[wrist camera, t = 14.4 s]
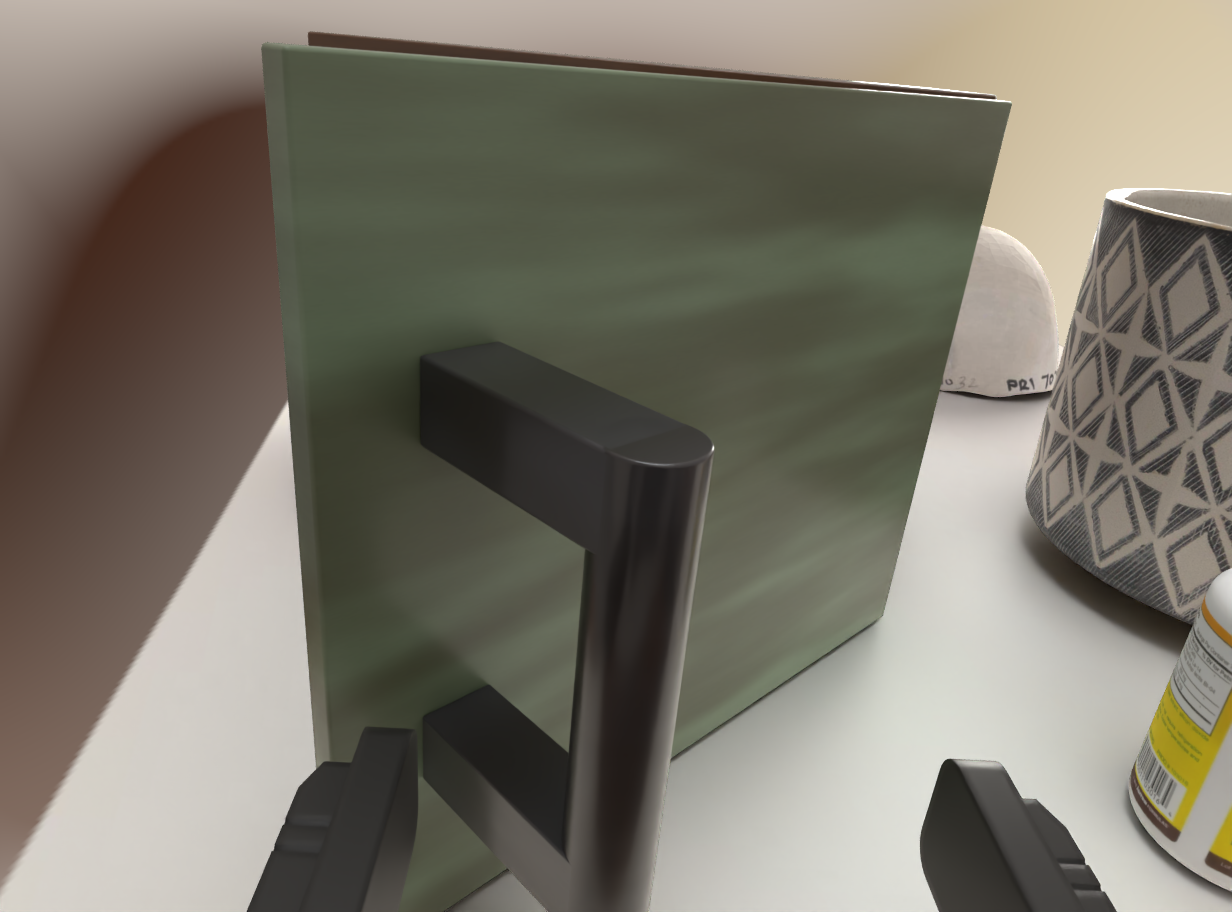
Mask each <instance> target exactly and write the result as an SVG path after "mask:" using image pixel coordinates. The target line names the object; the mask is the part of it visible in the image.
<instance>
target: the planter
mask: <svg viewBox="0 0 1232 912" xmlns="http://www.w3.org/2000/svg"><path fill="white" fill-rule="evenodd" d="M1026 501H1027V505H1028V508H1029V511H1030V514H1031V516H1032V517H1033V519H1034V521H1035V523H1036V524H1037V525H1038V527H1039V528H1040V530H1041V531H1042V532H1043V533H1044V535H1045V536H1046V537H1047V538H1048V539H1049V540H1050V541H1051V542H1052V543H1053V544H1054V545H1055V546H1056V547H1057V548H1058V549H1059V550H1060V551H1062V552H1063V553H1064V554H1065V555H1066V556H1068V557H1069V558H1070V559H1071V560H1073V561H1074V562H1075V563H1077V564H1078V565H1079V566H1081V567H1082V568H1084V569H1085V570H1087V571H1088V572H1089V573H1091V574H1093V575H1094V576H1096V577H1097V578H1099V579H1100V580H1102V581H1104V582H1105V583H1107V584H1109V585H1110V586H1112V587H1114V588H1115V589H1117V590H1119V591H1121V592H1123V593H1124V594H1126V595H1128V596H1130V597H1132V598H1134V599H1136V600H1138V601H1140V602H1142V603H1144V604H1146V605H1148V606H1150V607H1152V608H1154V609H1156V610H1158V611H1161V612H1163V613H1165V614H1167V615H1170V616H1172V617H1174V618H1177V619H1179V620H1181V621H1183V622H1186V623H1188V624H1191V625H1193V624H1194V621H1195V618H1196V616H1197V614H1198V612H1199V609H1200V607H1201V605H1202V602H1203V600H1204V597H1205V595H1206V593H1207V591H1208V589H1209V587H1210V585H1211V583H1212V582H1213V581H1214V579H1215V578H1216V577H1217V576H1218V575H1220V574H1221V573H1222V572H1224V571H1226V570H1228V569H1231V568H1232V194H1227V193H1214V192H1203V191H1188V190H1171V189H1121V190H1120V189H1119V190H1114V191H1111V192H1109V193H1108V194H1106V198H1105V201H1104V205H1103V209H1102V212H1101V216H1100V220H1099V223H1098V227H1097V230H1096V234H1095V238H1094V241H1093V245H1092V249H1091V252H1090V256H1089V259H1088V263H1087V267H1086V270H1085V274H1084V278H1083V281H1082V285H1081V289H1080V292H1079V296H1078V300H1077V303H1076V307H1075V311H1074V314H1073V318H1072V321H1071V325H1070V328H1069V332H1068V336H1067V339H1066V343H1065V347H1064V350H1063V354H1062V358H1061V361H1060V365H1059V368H1058V372H1057V376H1056V379H1055V383H1054V387H1053V390H1052V394H1051V398H1050V401H1049V405H1048V408H1047V412H1046V416H1045V419H1044V423H1043V427H1042V430H1041V434H1040V437H1039V441H1038V445H1037V448H1036V452H1035V456H1034V459H1033V463H1032V467H1031V470H1030V474H1029V477H1028V481H1027V485H1026Z"/></svg>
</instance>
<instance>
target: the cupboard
mask: <svg viewBox="0 0 1232 912" xmlns="http://www.w3.org/2000/svg"><path fill="white" fill-rule="evenodd" d="M308 43H309V46H320V47H332V48H345V49H358V50H370V51H383V52H396V53H408V54H421V55H434V56H446V57H459V58H471V59H484V60H497V61H509V62H522V63H535V64H547V65H560V66H573V67H585V68H598V69H611V70H623V71H636V72H648V73H661V74H674V75H686V76H699V77H712V78H724V79H737V80H750V81H762V82H775V83H788V84H800V85H813V86H825V87H838V88H851V89H863V90H876V91H889V92H901V93H914V94H927V95H939V96H952V97H965V98H977V99H990V100H996V96H995V95H992V94H982V93H973V92H963V91H953V90H944V89H934V88H925V87H914V86H903V85H893V84H881V83H871V82H860V81H849V80H838V79H828V78H817V77H805V76H795V75H784V74H774V73H763V72H752V71H741V70H730V69H720V68H709V67H698V66H687V65H676V64H665V63H654V62H644V61H632V60H622V59H611V58H600V57H590V56H579V55H568V54H557V53H546V52H534V51H525V50H514V49H502V48H492V47H482V46H470V45H460V44H449V43H437V42H426V41H425V42H424V41H414V40H403V39H391V38H380V37H368V36H357V35H345V34H334V33H323V32H309V33H308Z"/></svg>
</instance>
